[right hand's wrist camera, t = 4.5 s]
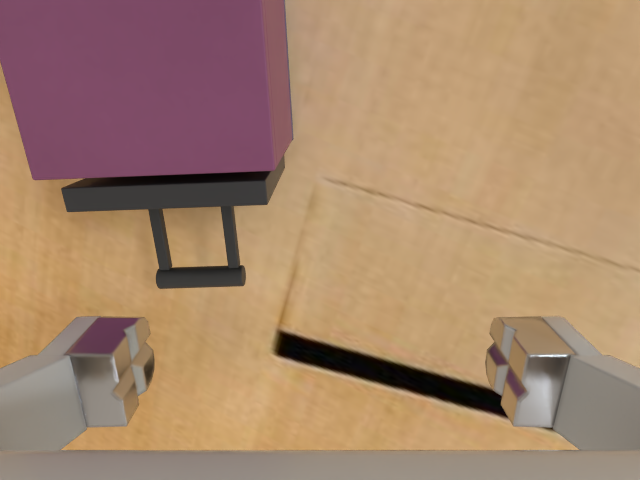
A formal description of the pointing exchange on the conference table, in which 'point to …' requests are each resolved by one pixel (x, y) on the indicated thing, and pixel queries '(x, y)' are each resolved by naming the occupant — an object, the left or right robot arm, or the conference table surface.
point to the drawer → (180, 194)
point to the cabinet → (147, 85)
